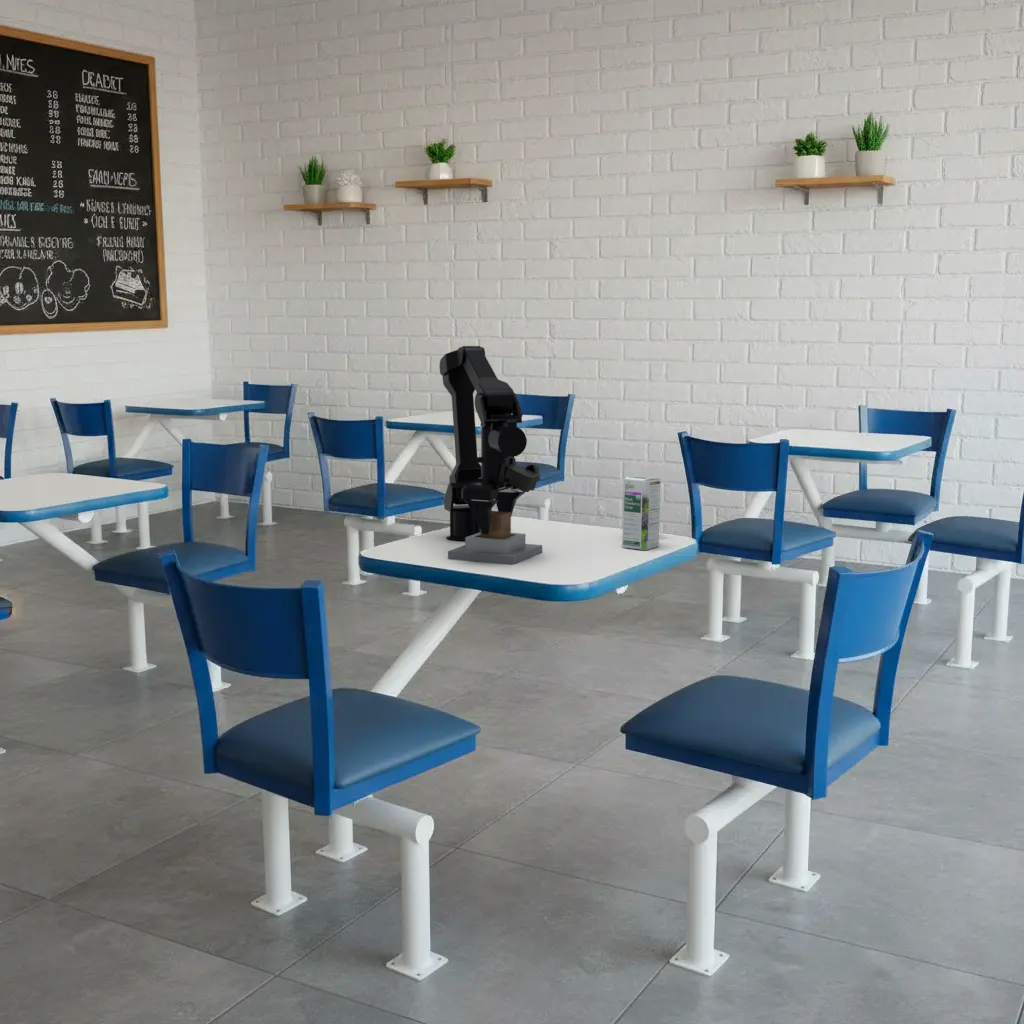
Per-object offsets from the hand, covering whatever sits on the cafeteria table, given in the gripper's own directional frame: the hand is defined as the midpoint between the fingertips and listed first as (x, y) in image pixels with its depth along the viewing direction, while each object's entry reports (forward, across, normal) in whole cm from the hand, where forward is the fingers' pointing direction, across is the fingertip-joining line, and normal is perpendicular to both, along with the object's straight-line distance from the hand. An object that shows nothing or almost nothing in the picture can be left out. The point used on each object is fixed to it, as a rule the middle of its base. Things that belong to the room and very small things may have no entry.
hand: (495, 530), depth 240 cm
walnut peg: (+4, 0, 0) cm, 4 cm away
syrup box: (+5, +21, -23) cm, 32 cm away
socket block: (+5, 0, 0) cm, 5 cm away
